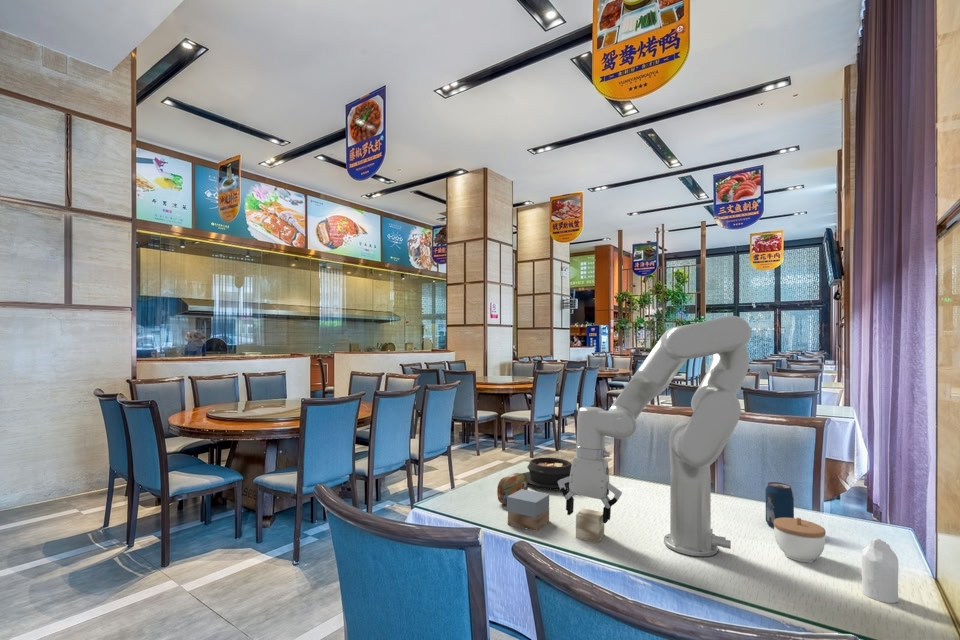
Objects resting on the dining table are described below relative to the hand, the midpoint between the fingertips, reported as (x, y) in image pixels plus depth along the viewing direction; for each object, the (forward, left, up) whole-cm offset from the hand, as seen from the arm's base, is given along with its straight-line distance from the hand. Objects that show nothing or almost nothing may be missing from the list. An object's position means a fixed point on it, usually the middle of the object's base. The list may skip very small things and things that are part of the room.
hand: (587, 517), depth 129 cm
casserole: (+25, -39, -5) cm, 47 cm away
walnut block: (+17, 0, -5) cm, 18 cm away
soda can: (-46, -36, -5) cm, 58 cm away
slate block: (+17, 0, -1) cm, 17 cm away
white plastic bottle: (-62, -1, -5) cm, 62 cm away
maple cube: (-1, 0, -5) cm, 5 cm away
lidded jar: (-49, -15, -5) cm, 51 cm away
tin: (+29, -15, -5) cm, 33 cm away
